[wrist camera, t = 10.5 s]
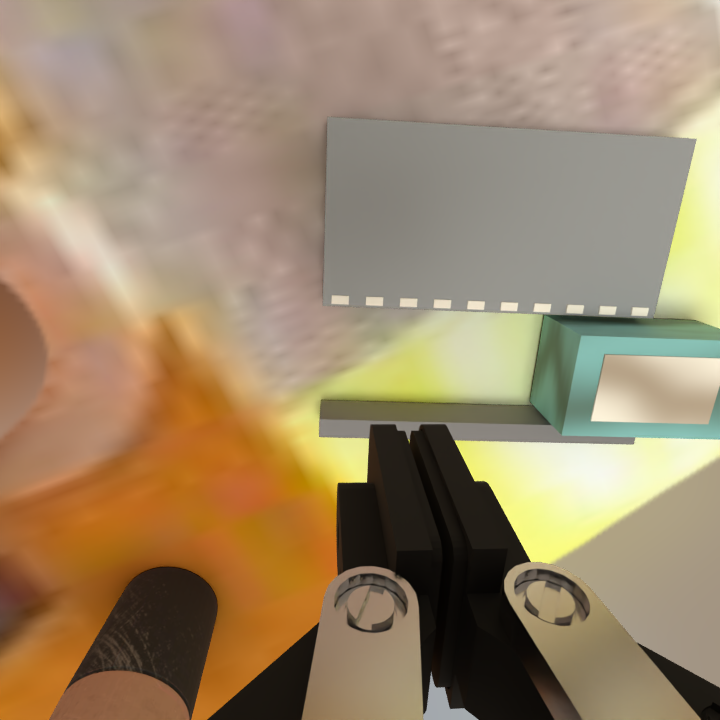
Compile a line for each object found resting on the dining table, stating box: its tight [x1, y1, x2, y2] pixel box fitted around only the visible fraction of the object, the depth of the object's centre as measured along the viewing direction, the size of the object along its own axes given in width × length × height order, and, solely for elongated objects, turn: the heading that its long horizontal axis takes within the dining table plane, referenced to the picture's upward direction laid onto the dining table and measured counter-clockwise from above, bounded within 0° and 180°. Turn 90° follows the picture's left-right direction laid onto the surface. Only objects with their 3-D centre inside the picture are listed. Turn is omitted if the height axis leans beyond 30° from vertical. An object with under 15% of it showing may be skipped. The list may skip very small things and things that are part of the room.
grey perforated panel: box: [319, 117, 696, 444], centre depth 30 cm, size 18×20×3 cm
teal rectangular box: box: [530, 314, 720, 439], centre depth 30 cm, size 6×10×5 cm, turn 87°
